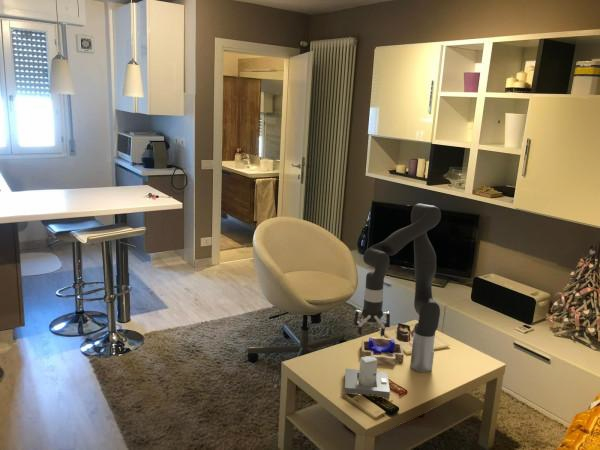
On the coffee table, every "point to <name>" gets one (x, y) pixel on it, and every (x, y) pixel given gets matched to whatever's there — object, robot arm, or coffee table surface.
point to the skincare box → (368, 371)
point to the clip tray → (383, 359)
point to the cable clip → (379, 350)
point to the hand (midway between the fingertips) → (370, 335)
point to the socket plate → (379, 388)
